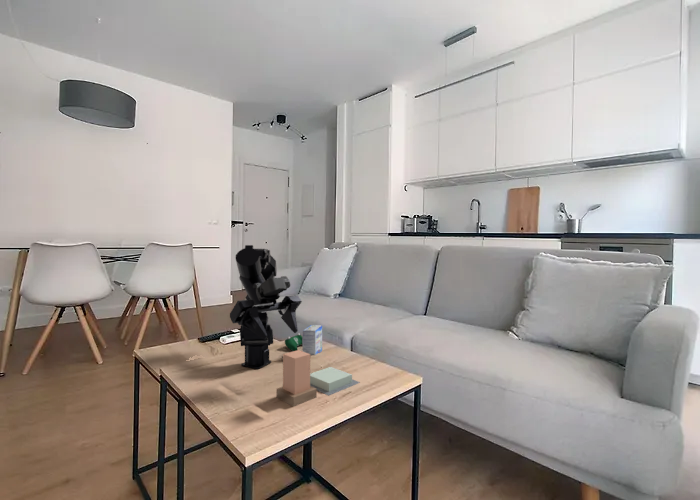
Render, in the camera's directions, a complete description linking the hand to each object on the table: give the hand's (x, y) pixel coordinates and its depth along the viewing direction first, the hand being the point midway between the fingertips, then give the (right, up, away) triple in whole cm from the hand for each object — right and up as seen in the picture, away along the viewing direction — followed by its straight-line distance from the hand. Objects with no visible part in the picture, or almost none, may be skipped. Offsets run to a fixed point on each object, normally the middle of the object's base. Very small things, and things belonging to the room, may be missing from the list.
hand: (281, 334), depth 87 cm
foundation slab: (+12, -13, +4) cm, 18 cm away
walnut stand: (+4, -14, -5) cm, 16 cm away
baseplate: (+12, -14, +4) cm, 18 cm away
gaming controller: (-2, -13, +37) cm, 39 cm away
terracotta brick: (+4, -11, -5) cm, 13 cm away
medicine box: (+4, -13, +30) cm, 33 cm away
